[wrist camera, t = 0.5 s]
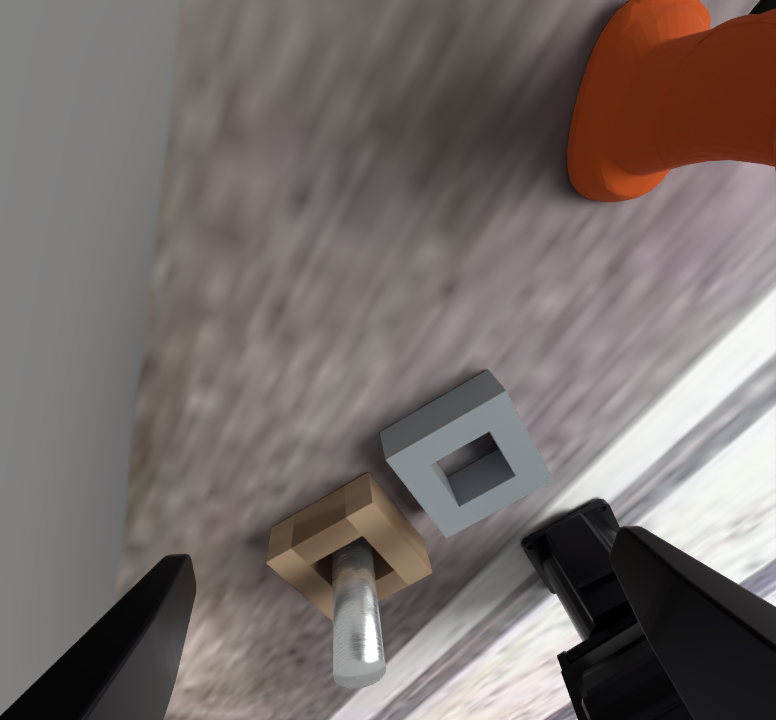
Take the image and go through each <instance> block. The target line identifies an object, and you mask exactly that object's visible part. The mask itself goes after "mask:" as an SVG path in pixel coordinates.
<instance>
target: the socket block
mask: <svg viewBox="0 0 776 720" xmlns="http://www.w3.org/2000/svg"><path fill="white" fill-rule="evenodd" d="M361 536H364V537H365V539H366V540H367V541H368V542H369V543H370V544H371V545H372V547H371V548H372V556H373V565H374V573H375V582H376V590H377V599H378V602H379V601H381V600H383V599H385V598H386V597H388V596H390V595H392V594H394V593H396V592H398V591H400V590H401V589H403V588H405V587H407V586H409V585H411V584H413V583H415V582H416V581H418V580H420V579H422V578H424V577H426V576H428V575H430V574H431V573H433V572H432V569H431V565H430V561H429V557H428V554H427V550H426V546H425V542H424V539H423V538H422V537H421V536H420V534H419V533H418V532H417V531H416V530H415V528H414V527H413V526H412V525H411V523H410V522H409V521H408V520H407V519H406V517H405V516H404V515H403V514H402V512H401V511H400V510H399V509H398V508H397V506H396V505H395V504H394V503H393V501H392V500H391V499H390V498H389V496H388V495H387V494H386V493H385V492H384V490H383V489H382V488H381V487H380V485H379V484H378V483H377V482H376V481H375V479H374V478H373V477H372V476H371V474H370V473H369V472H368V473H366V474H364V475H362V476H361V477H359V478H357V479H355V480H354V481H352V482H350V483H348V484H347V485H345V486H343V487H341V488H340V489H338V490H336V491H334V492H333V493H331V494H329V495H327V496H326V497H324V498H322V499H321V500H319V501H317V502H315V503H314V504H312V505H310V506H308V507H307V508H305V509H303V510H301V511H300V512H298V513H296V514H294V515H293V516H291V517H289V518H287V519H286V520H284V521H282V522H280V523H279V524H277V525H275V526H273V527H272V528H271V534H270V540H269V546H268V552H267V558H266V563H267V564H268V565H269V566H270V567H271V568H272V569H273V570H275V571H276V572H277V573H278V574H279V575H280V576H281V577H283V578H284V579H285V580H286V581H287V582H288V583H289V584H291V585H292V586H293V587H294V588H295V589H296V590H297V591H299V592H300V593H301V594H302V595H303V596H304V597H306V598H307V599H308V600H309V601H310V602H311V603H312V604H314V605H315V606H316V607H317V608H318V609H319V610H320V611H322V612H323V613H324V614H325V615H326V616H327V617H328V618H330V619H331V620H332V621H333V593H332V552H334V551H336V550H338V549H340V548H341V547H343V546H345V545H347V544H349V543H350V542H352V541H354V540H356V539H358V538H359V537H361Z"/></svg>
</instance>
